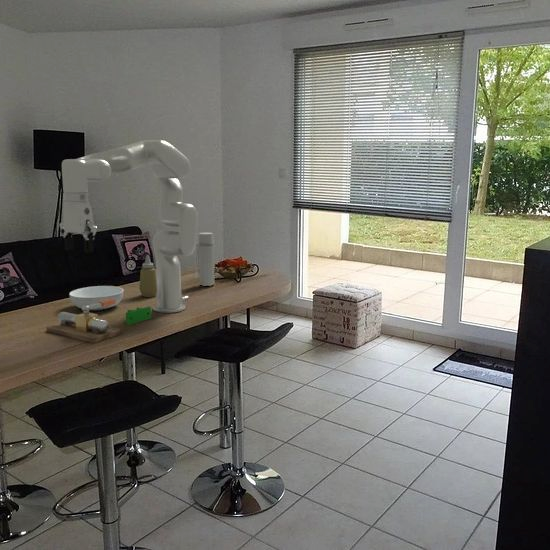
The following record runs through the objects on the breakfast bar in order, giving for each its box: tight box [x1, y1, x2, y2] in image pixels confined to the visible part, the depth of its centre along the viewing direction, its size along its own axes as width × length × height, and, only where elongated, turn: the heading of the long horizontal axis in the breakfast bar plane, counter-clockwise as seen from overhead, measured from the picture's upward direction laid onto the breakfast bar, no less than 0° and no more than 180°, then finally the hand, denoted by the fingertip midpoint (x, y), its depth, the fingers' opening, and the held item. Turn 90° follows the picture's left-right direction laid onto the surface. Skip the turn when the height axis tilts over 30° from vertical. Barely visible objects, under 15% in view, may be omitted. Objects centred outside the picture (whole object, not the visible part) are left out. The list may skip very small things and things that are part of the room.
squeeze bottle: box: [139, 254, 157, 298], centre depth 252 cm, size 8×8×18 cm
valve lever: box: [81, 299, 117, 315], centre depth 202 cm, size 13×3×3 cm, turn 148°
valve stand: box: [46, 322, 122, 344], centre depth 200 cm, size 12×24×2 cm, turn 58°
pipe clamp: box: [125, 306, 152, 326], centre depth 215 cm, size 11×4×5 cm, turn 145°
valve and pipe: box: [57, 311, 110, 334], centre depth 199 cm, size 5×22×5 cm, turn 58°
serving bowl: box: [68, 285, 125, 311], centre depth 233 cm, size 21×21×7 cm
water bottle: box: [194, 232, 215, 286], centre depth 273 cm, size 9×8×25 cm
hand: (79, 250), depth 190 cm, fingers open, 9 cm apart
